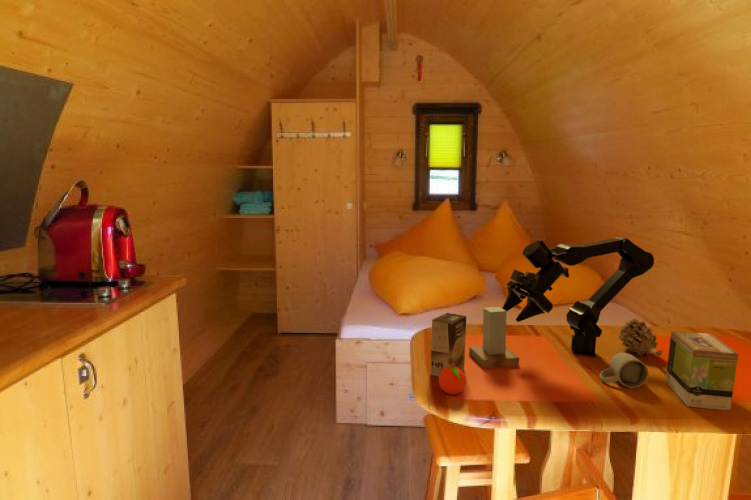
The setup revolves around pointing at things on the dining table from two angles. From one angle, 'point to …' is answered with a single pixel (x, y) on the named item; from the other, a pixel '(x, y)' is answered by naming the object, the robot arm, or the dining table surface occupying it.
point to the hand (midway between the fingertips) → (509, 316)
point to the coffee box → (448, 342)
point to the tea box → (701, 370)
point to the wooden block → (494, 330)
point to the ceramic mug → (626, 371)
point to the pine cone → (639, 338)
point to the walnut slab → (493, 358)
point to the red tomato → (452, 380)
